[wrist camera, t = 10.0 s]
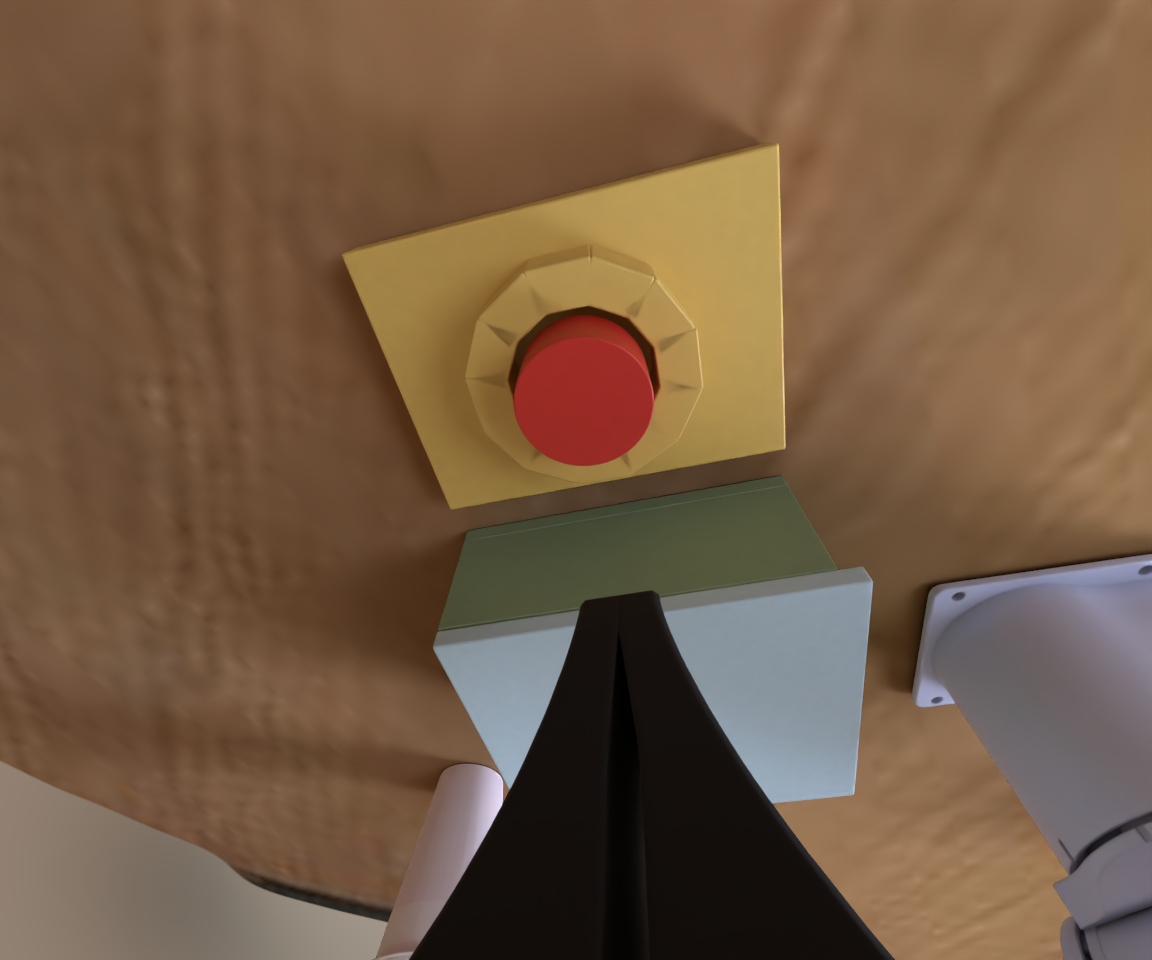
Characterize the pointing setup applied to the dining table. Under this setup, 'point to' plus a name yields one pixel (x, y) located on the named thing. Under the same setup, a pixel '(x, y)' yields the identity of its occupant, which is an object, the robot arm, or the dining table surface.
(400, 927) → the smoothie
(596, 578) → the panel
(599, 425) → the button
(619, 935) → the robot arm
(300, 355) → the dining table surface
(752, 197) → the yellow button base
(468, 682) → the pale blue lid
